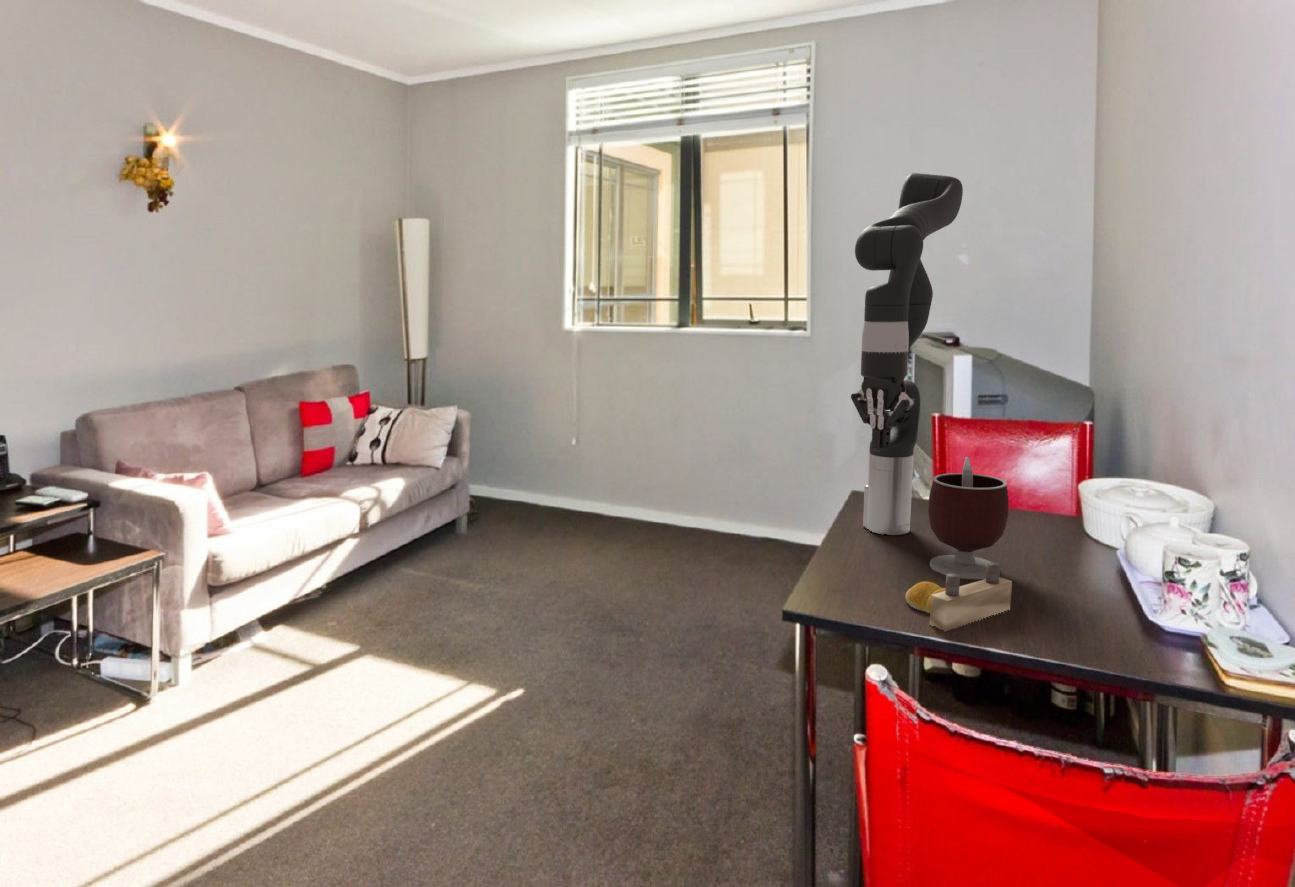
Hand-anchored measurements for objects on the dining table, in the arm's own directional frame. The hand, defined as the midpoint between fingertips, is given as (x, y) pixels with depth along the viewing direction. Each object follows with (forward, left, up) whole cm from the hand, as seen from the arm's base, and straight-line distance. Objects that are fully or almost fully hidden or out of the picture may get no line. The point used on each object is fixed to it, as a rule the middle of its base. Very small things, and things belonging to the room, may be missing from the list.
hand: (880, 450), depth 136 cm
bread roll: (+11, +2, -26) cm, 28 cm away
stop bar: (+18, +3, -25) cm, 31 cm away
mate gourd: (+1, +23, -25) cm, 34 cm away
